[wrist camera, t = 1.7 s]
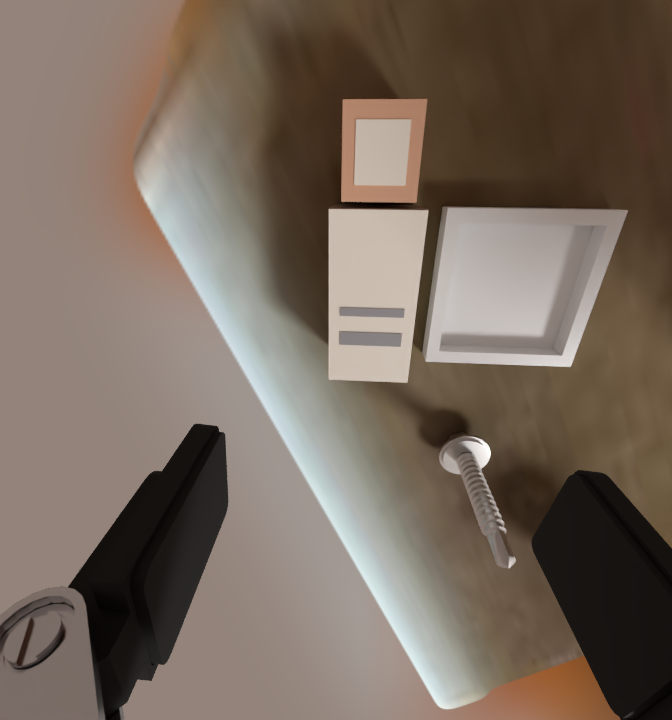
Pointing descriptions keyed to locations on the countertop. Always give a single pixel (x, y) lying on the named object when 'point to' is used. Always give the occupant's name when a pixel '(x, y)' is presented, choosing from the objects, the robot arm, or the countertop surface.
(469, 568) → the countertop surface
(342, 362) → the striped white block
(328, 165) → the countertop surface
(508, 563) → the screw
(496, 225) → the tray
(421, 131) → the tan rectangular block
